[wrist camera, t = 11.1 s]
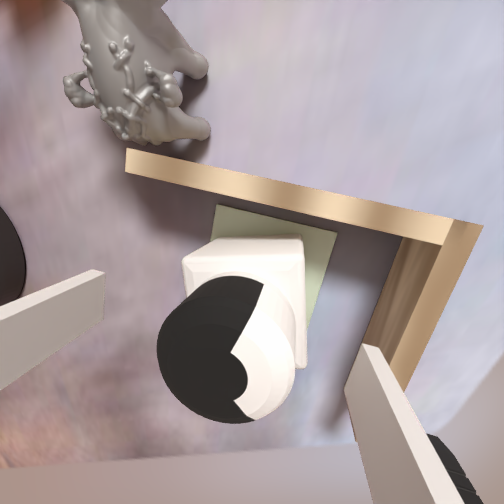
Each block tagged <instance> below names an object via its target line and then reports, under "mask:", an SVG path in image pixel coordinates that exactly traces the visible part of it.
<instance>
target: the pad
mask: <svg viewBox="0 0 504 504" xmlns="http://www.w3.org/2000/svg"><path fill="white" fill-rule="evenodd" d="M280 234H300V235H302V237H303V247H304V258H305V291H306V328H308V325H309V322H310V319H311V316H312V312H313V309H314V306H315V303H316V300H317V297H318V293H319V290H320V287H321V284H322V281H323V278H324V274H325V271H326V268H327V265H328V262H329V258H330V255H331V252H332V249H333V246H334V243H335V239H336V236H337V232H333V231H328V230H324V229H320V228H316V227H312V226H307V225H303V224H299V223H295V222H291V221H286V220H282V219H278V218H274V217H269V216H265V215H261V214H257V213H253V212H248V211H244V210H240V209H236V208H232V207H227V206H223V205H219V204H216V210H215V216H214V222H213V228H212V234H211V239H210V242H212V241H213V240H215V239H217V238H219V237H235V236H258V235H280Z"/></svg>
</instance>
